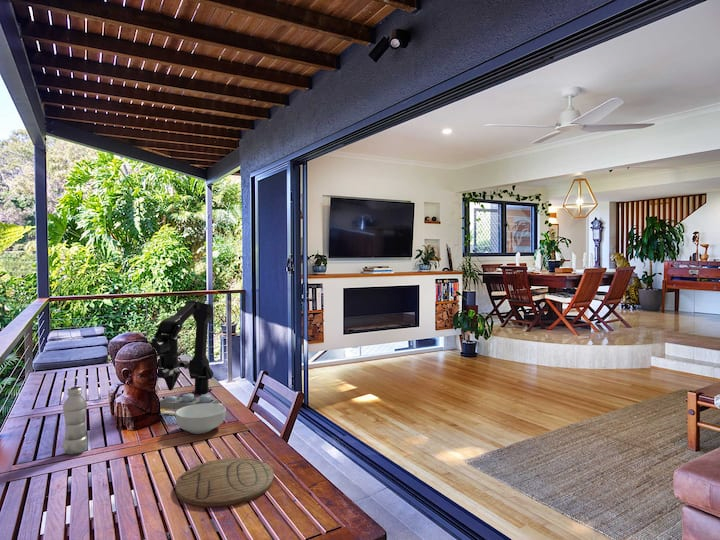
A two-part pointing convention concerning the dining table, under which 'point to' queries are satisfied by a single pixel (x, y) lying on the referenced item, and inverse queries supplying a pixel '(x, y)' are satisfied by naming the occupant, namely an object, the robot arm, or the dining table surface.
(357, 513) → the dining table surface
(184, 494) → the trivet
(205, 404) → the cereal bowl
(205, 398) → the button
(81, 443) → the plastic bottle
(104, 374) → the dining table surface
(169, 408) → the board
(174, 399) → the button
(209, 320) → the robot arm
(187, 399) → the button
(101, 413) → the dining table surface
